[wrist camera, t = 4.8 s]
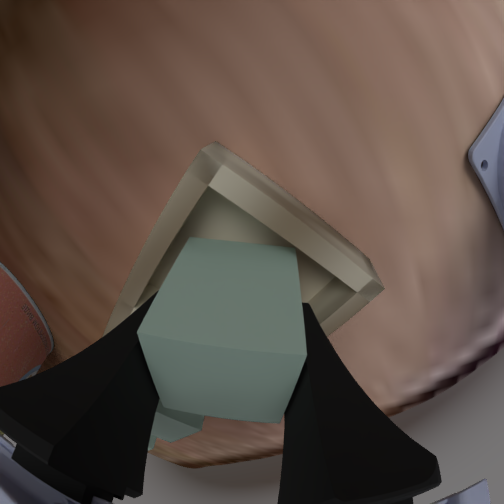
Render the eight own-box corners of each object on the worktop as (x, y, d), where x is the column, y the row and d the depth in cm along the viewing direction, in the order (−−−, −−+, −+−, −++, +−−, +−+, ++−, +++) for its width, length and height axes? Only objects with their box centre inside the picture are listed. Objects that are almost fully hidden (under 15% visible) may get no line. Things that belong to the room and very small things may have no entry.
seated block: (217, 352, 15) (201, 430, 10) (187, 378, 16) (170, 442, 12) (155, 318, 14) (121, 393, 9) (134, 349, 15) (106, 413, 11)
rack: (369, 258, 11) (384, 288, 9) (166, 417, 21) (161, 436, 19) (215, 141, 9) (200, 149, 7) (90, 377, 19) (81, 395, 17)
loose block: (295, 247, 10) (306, 355, 6) (280, 324, 12) (279, 423, 8) (189, 237, 10) (137, 331, 6) (194, 314, 12) (163, 407, 8)
